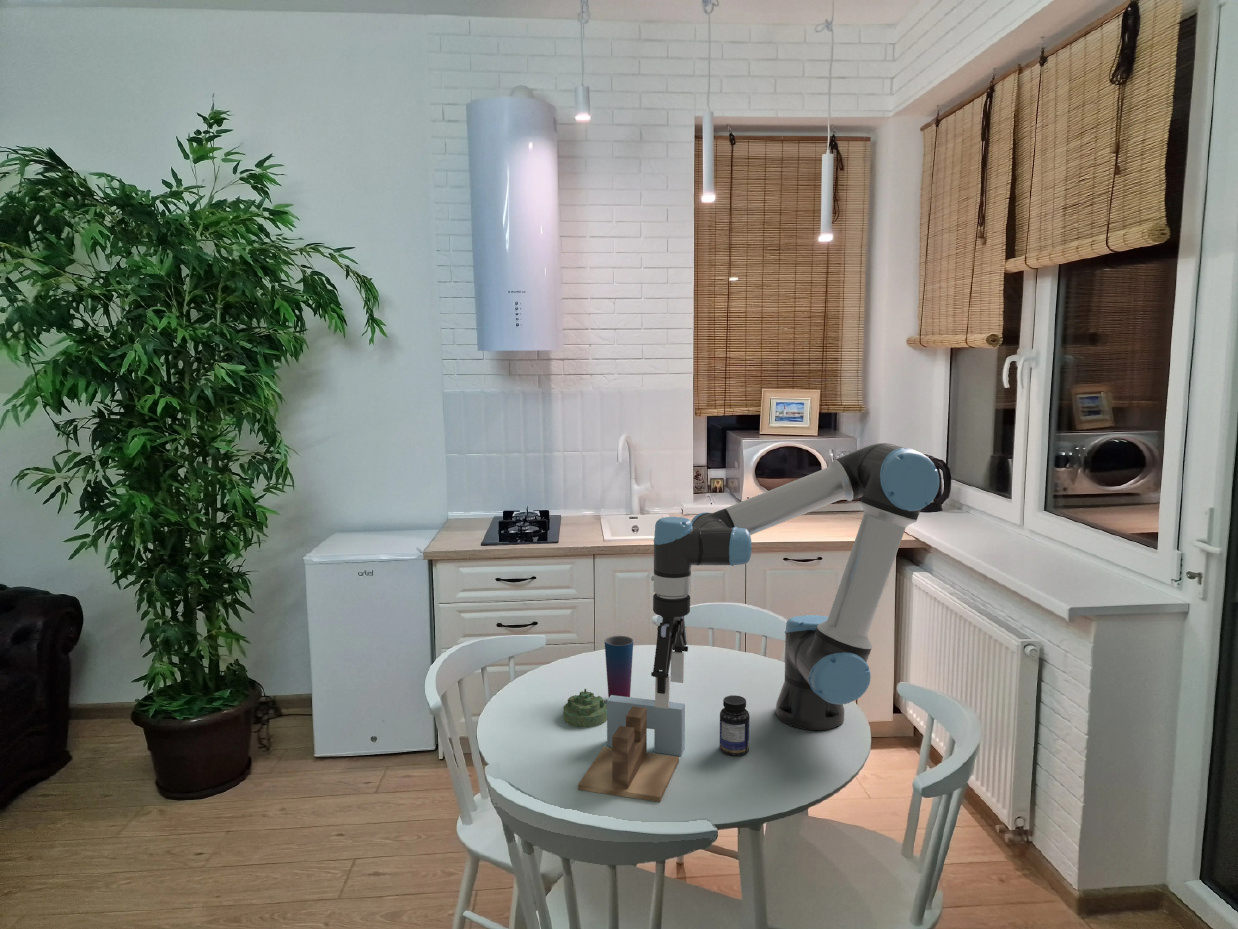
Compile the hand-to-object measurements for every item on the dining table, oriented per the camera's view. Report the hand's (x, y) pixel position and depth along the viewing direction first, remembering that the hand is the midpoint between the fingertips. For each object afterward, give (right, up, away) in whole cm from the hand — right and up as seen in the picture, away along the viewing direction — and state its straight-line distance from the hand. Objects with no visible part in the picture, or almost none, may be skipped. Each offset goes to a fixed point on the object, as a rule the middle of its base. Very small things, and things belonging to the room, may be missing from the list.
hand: (669, 694), depth 172 cm
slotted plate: (-5, -12, +3) cm, 13 cm away
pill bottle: (+14, -12, +2) cm, 18 cm away
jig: (-8, -14, -8) cm, 18 cm away
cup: (-10, -9, +27) cm, 30 cm away
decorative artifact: (-18, -11, +18) cm, 27 cm away
